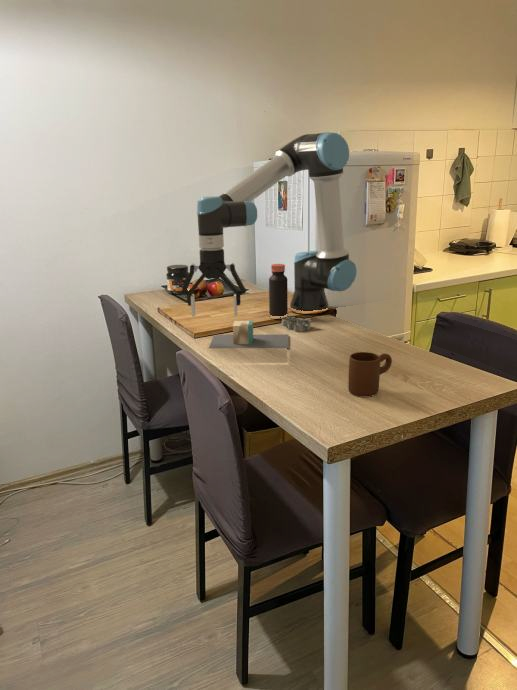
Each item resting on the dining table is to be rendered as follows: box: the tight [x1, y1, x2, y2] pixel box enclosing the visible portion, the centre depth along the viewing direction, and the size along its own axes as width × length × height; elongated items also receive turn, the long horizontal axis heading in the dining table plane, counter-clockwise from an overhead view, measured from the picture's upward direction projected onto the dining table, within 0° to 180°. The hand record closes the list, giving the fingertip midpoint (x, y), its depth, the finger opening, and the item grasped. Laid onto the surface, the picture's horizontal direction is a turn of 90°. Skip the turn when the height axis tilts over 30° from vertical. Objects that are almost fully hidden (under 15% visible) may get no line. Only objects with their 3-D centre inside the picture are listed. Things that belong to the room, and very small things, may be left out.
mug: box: [347, 351, 393, 397], centre depth 136 cm, size 12×8×9 cm, turn 115°
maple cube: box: [232, 320, 254, 344], centre depth 175 cm, size 6×6×6 cm
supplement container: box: [166, 264, 190, 295], centre depth 247 cm, size 10×10×12 cm
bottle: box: [268, 263, 289, 316], centre depth 201 cm, size 7×7×20 cm
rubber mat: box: [208, 333, 289, 351], centre depth 176 cm, size 25×14×1 cm, turn 87°
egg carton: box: [280, 315, 313, 333], centre depth 191 cm, size 11×8×4 cm
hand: (214, 315), depth 174 cm, fingers open, 13 cm apart
